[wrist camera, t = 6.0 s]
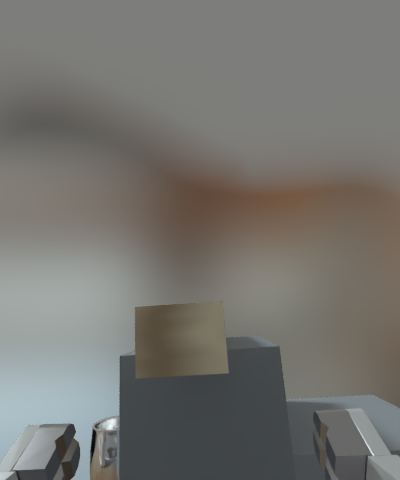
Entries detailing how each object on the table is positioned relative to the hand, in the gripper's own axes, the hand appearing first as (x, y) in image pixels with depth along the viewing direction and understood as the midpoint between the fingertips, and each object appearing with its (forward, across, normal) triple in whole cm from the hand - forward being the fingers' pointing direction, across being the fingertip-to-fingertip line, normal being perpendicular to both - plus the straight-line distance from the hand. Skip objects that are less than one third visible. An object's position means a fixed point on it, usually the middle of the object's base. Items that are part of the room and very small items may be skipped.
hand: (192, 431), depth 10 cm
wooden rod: (+13, -1, -6) cm, 14 cm away
